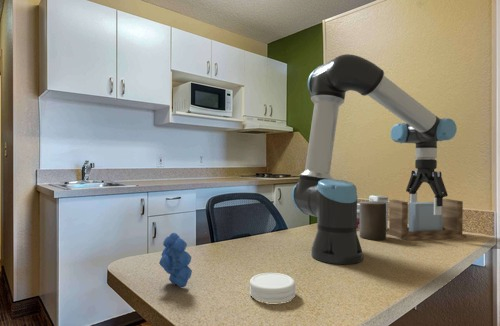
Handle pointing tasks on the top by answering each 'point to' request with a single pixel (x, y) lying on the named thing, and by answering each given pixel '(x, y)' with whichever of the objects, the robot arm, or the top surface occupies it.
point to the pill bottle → (358, 217)
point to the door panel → (424, 217)
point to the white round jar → (272, 287)
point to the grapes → (176, 260)
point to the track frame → (449, 230)
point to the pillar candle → (373, 220)
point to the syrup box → (381, 199)
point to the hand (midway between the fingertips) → (424, 212)
